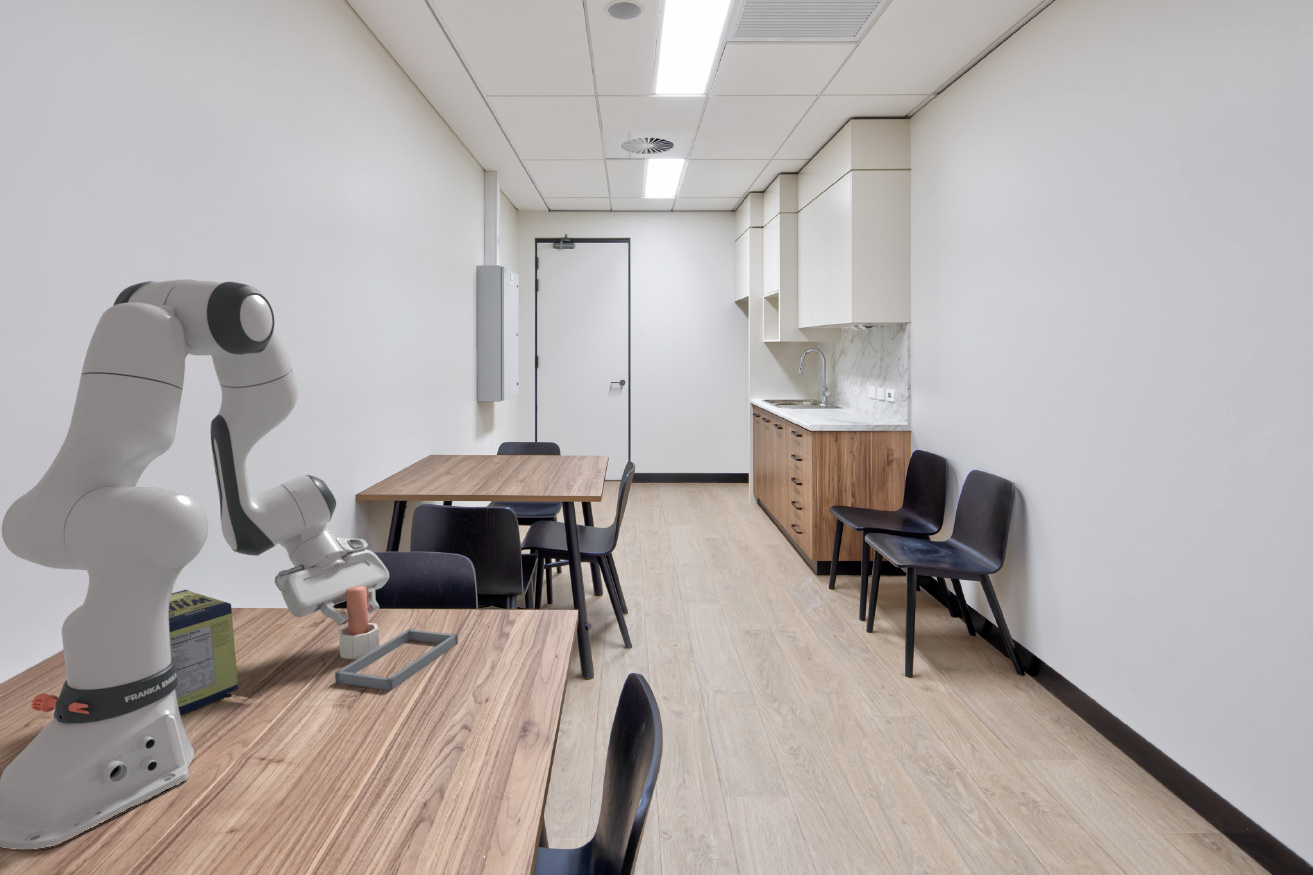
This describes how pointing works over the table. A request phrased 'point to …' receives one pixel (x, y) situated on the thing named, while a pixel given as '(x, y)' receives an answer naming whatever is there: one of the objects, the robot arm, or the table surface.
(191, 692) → the protein box
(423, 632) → the tray
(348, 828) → the table surface
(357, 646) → the cup
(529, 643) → the table surface
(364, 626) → the sausage
